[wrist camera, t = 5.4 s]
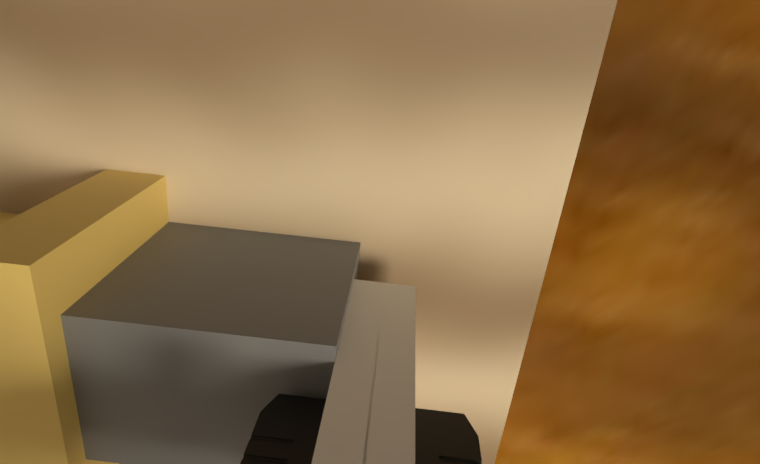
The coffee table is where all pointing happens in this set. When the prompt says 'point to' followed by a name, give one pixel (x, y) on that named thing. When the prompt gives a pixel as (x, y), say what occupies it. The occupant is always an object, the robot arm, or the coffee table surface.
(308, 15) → the base board
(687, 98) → the coffee table surface
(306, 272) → the grey block yellow flange
